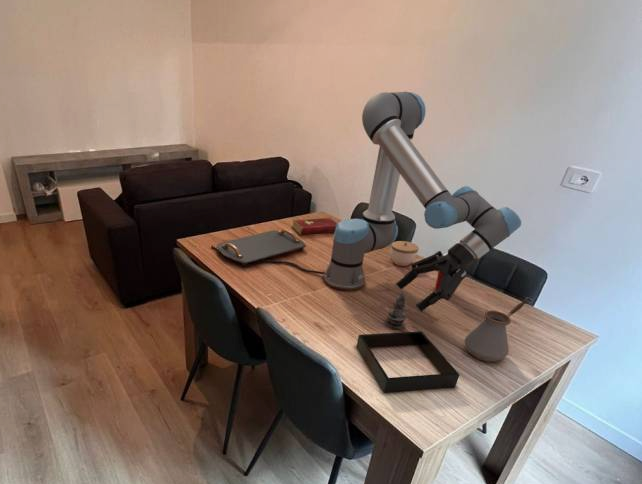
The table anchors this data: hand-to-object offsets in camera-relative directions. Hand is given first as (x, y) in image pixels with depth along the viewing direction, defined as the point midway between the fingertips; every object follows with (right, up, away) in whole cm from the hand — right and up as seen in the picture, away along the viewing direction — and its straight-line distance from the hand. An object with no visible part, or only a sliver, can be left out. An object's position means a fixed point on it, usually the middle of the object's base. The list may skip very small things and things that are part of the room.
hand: (407, 297), depth 126 cm
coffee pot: (+23, -15, -5) cm, 29 cm away
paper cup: (+23, +2, +25) cm, 34 cm away
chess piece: (-2, -9, +5) cm, 10 cm away
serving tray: (-44, +21, +53) cm, 72 cm away
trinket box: (+15, +15, +46) cm, 51 cm away
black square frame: (-7, -19, -13) cm, 24 cm away
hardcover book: (-16, +34, +77) cm, 86 cm away
